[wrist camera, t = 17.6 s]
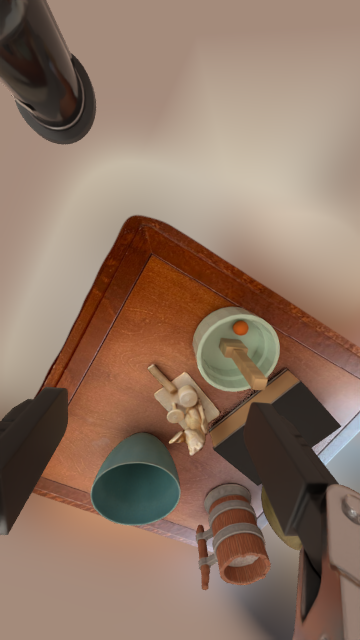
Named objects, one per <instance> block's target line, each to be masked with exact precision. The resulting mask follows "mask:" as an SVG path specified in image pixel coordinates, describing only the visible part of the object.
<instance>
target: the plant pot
mask: <svg viewBox="0 0 360 640" xmlns="http://www.w3.org/2000/svg"><path fill="white" fill-rule="evenodd" d="M179 499H180V483H179V478H178V474H177V470H176V467H175V464H174V461H173V459H172V457H171V455H170V453H169V451H168V450H167V448H166V447H165V445H164V444H163V443H162V442H161V441H160V440H159V439H158V438H156V437H155V436H153V435H151V434H149V433H136V434H133V435H131V436H129V437H128V438H126V439H124V440H123V441H122V442H120V443H119V444H118V445H117V446H116V447H115V448H114V449H113V450H112V451H111V453H110V454H109V455H108V457H107V458H106V460H105V461H104V463H103V464H102V466H101V468H100V470H99V472H98V474H97V476H96V478H95V480H94V483H93V486H92V489H91V501H92V504H93V506H94V508H95V509H96V511H97V512H98V513H99V514H100V515H102V516H103V517H104V518H106V519H108V520H110V521H112V522H115V523H118V524H123V525H145V524H150V523H153V522H156V521H158V520H160V519H162V518H164V517H166V516H167V515H168V514H170V513H171V512H172V511H173V510H174V508H175V507H176V505H177V504H178V502H179Z"/></svg>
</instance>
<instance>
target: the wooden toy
mask: <svg viewBox="0 0 360 640" xmlns="http://www.w3.org/2000/svg"><path fill="white" fill-rule="evenodd" d="M148 370H149V372H150V373H151V374H152V375H153V376H154V377H155V378H156V379H157V380H158V382H159V383H160V384H161V385H162V386H163V387H162V388H161V389H159V390H158V391H157V392H155V393H154V396H155V398H156V399H157V401H158V402H160V404H161V405H162V406H163V407H164V408H165V409H166V410H167V411H168V412H169V413H168V414H167V420H168V421H169V422H170V423H174V424H175V423H179V424H180V425H181V426H182V428H183V429H184V430H183V431H180V432H178V433H177V434H176V435H175V436H174V437H173V438H172V439H171V440H170V441H169V443H170V444H171V443H174V442H177V443H180V442H185V443H186V444H187V445H188V448H189V451H190V455H194V454H195V453H196V452H198V451H200V450H202V448H203V446H204V444H205V441H206V435H207V434H208V423H209V422H210V421H212V420H213V419H215V418H217V417H218V416H219V415H220V412H219V410H218V409H217V408H216V407H215V405H214V404H213V403H212V402H211V401H210V399H209V398H208V397H207V396H206V395H205V393H204V392H203V391H202V390H201V389H200V387H199V386H198V385H197V384H196V382H195V381H194V380H193V379H192V378H191V377H190V375H189V374H188V373H186V372H183V373H182V374H181V375H179V376H178V377H176V378H175V379H174V380H172V381H169V380H168V379H167V378H166V377H165V376H164V375H163V374H162V373H161V371H159V369H158V368H157V367H156V366H155V364H153V365H151V366H149V367H148Z"/></svg>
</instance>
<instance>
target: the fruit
mask: <svg viewBox="0 0 360 640" xmlns="http://www.w3.org/2000/svg"><path fill="white" fill-rule="evenodd" d="M261 500H262V507H263V511H264V514H265V516H266V518H267V520H268V522H269V524H270V526H271V527H272V529H273V530H274V532H275V533H276V534H277V535H278V537H279V538H280V539H281V540H282V541H284V543H286V544H287V545H288V546H289V547H291V548H293V549H295V550H300V549H301V547H302V543H301V541H300V539H299V537H298V536H284V533H283V531H282V529H281V526H280V524H279V522H278V519H277V517H276V515H275V512H274V510H273V508H272V506H271V503H270V501H269V499H268V496H267V494H266V492H265V489H264V487H262V494H261Z"/></svg>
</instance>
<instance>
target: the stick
mask: <svg viewBox="0 0 360 640" xmlns="http://www.w3.org/2000/svg"><path fill="white" fill-rule="evenodd" d="M219 349H220V350H221V352H222V354H223V355H224V357H225V358H232V360H233V361H234V363H235V364H236V366H237V367H238V369H239V370H240V372H241V373H242V375H243V376H244V378H245V379H246V381H247V382H248V384H249V385H250V387H251V388H252V390H262V391H265V388H266V384H267V381H268V379H267V378H266V377H265V376H264V374H263V373H262V372H261V371H260V370H259V369H258V367H257V366H256V365H255V364H254V363H253V361H252V360H251V359H250V358H249V357H248V355H247V352H248V348H247V347H246V346H245V345H244V344H243V343H242V341H241V340H238V339H228V338H221V339H220V344H219Z"/></svg>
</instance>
